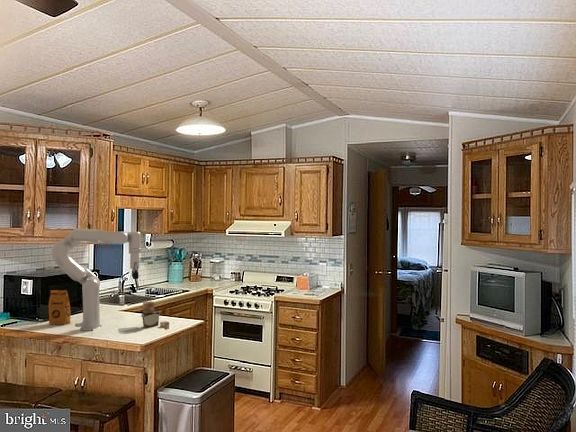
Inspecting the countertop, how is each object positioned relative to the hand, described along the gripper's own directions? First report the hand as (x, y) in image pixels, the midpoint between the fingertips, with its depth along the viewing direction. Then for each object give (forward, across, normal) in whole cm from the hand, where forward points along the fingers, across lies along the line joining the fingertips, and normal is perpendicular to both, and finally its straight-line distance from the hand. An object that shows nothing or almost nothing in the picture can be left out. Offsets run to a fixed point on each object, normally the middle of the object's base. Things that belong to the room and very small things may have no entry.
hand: (135, 277), depth 302 cm
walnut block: (+20, +11, +7) cm, 24 cm away
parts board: (+30, +15, -5) cm, 34 cm away
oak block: (+30, +16, +16) cm, 38 cm away
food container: (+31, +11, +7) cm, 33 cm away
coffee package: (+31, -25, -45) cm, 60 cm away
